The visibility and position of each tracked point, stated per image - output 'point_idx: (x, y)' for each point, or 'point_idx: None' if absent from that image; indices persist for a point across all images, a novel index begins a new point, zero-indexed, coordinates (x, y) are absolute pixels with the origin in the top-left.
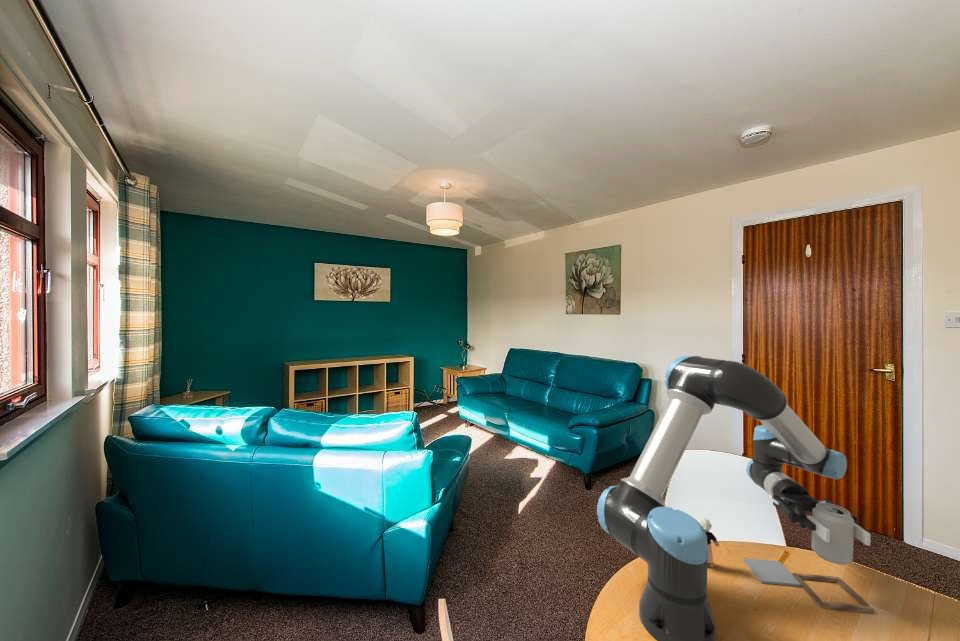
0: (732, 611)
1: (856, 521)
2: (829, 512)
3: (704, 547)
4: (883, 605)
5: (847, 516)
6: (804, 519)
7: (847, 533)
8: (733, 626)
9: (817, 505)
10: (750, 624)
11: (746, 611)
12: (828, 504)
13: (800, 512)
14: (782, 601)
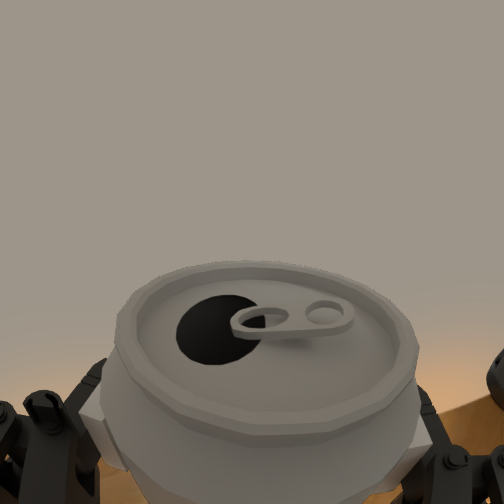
0: (478, 436)
1: (21, 419)
2: (346, 279)
3: None
4: (122, 498)
5: (229, 270)
6: (444, 428)
7: (244, 351)
8: (474, 410)
9: (408, 343)
10: (455, 421)
11: (460, 445)
12: (211, 403)
13: (464, 489)
14: (393, 497)
